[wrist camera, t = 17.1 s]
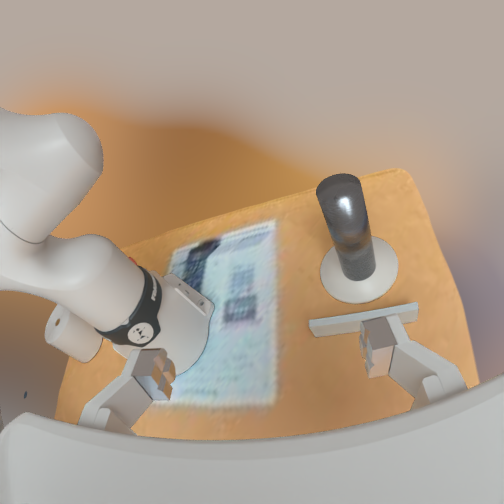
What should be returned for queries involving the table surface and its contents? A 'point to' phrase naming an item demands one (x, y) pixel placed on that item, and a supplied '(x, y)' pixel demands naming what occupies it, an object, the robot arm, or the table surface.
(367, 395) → the table surface
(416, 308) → the acrylic wall
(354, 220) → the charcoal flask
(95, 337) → the toilet tissue
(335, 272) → the resting pad
